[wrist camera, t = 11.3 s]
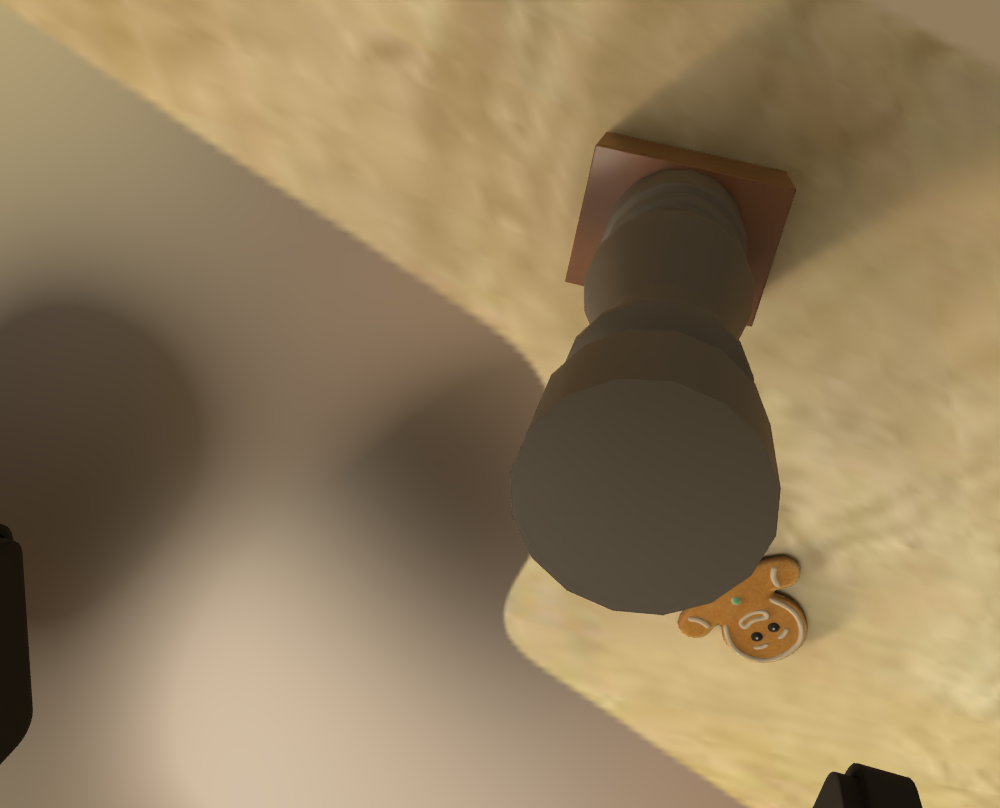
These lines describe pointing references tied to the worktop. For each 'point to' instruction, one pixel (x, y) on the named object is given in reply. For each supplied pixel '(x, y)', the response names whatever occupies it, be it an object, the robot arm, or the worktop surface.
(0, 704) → the robot arm
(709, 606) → the cookie
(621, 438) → the candle holder
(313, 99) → the worktop surface
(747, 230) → the brown wooden block
